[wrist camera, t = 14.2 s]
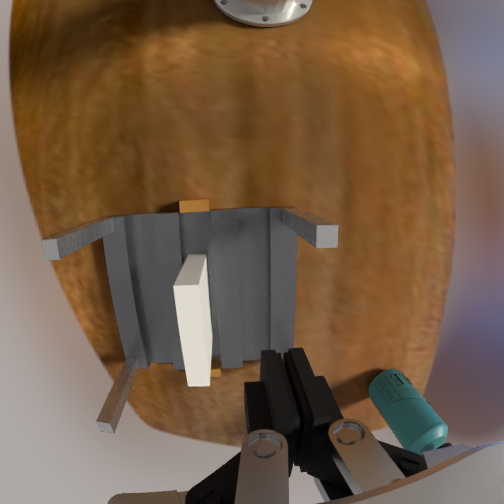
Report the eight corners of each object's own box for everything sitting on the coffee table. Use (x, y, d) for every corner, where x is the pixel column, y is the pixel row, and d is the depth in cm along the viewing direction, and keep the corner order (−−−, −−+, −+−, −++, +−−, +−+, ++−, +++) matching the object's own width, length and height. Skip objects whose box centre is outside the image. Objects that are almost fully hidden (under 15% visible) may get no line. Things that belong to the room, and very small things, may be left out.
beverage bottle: (361, 398, 40) (414, 489, 21) (365, 367, 39) (431, 462, 19) (395, 387, 41) (455, 467, 21) (401, 356, 39) (473, 438, 20)
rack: (107, 205, 30) (39, 223, 17) (291, 195, 32) (338, 206, 18) (134, 365, 35) (104, 438, 22) (288, 361, 37) (315, 436, 23)
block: (188, 254, 32) (173, 285, 22) (206, 253, 32) (198, 284, 22) (196, 334, 34) (188, 386, 24) (212, 334, 34) (209, 386, 24)
